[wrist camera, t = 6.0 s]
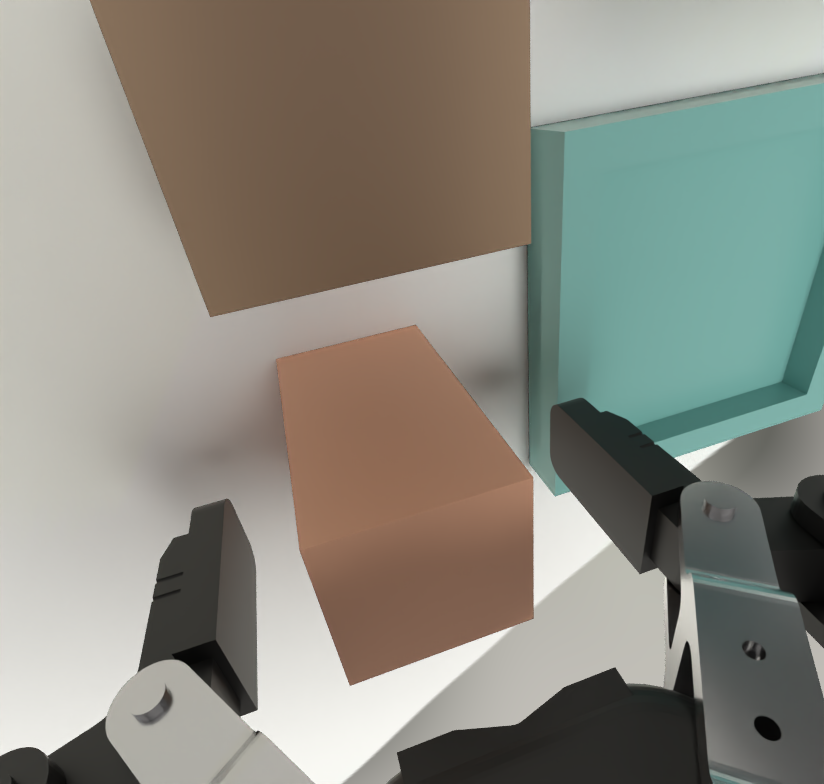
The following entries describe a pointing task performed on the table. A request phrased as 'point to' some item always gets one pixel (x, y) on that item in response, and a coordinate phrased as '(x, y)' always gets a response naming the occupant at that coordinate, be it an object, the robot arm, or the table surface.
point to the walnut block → (329, 134)
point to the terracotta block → (403, 502)
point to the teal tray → (680, 266)
